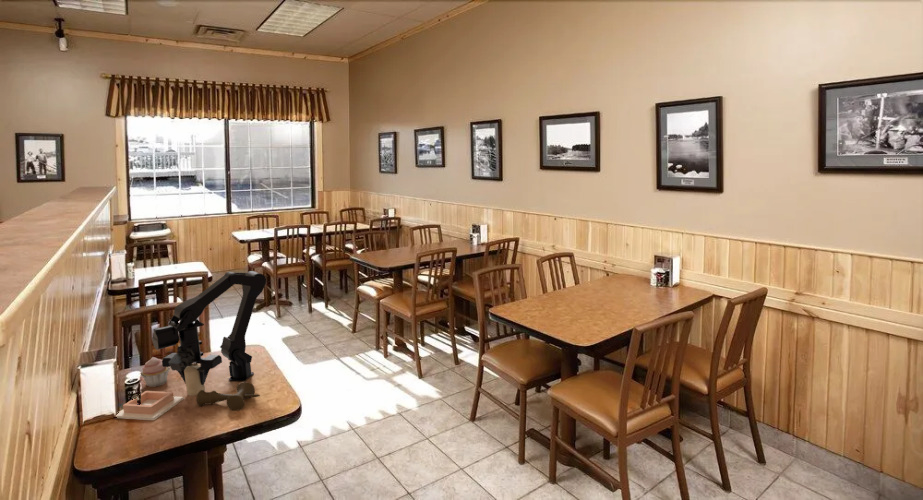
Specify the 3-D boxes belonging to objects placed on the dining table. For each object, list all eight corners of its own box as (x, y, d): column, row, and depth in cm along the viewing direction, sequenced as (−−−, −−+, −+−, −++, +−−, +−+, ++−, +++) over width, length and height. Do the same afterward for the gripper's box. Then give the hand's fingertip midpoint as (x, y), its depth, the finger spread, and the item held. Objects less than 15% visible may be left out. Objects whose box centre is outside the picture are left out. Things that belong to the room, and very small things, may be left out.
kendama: (207, 399, 178) (266, 396, 177) (193, 414, 168) (255, 411, 168) (204, 382, 176) (264, 380, 176) (190, 397, 167) (253, 394, 167)
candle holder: (183, 399, 177) (182, 389, 176) (153, 420, 163) (152, 410, 163) (146, 396, 179) (144, 387, 178) (113, 417, 165) (112, 408, 165)
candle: (197, 396, 178) (194, 368, 176) (183, 395, 179) (179, 367, 177) (208, 389, 184) (205, 362, 182) (194, 388, 185) (191, 361, 183)
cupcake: (161, 375, 196) (158, 350, 194) (177, 380, 191) (173, 354, 189) (136, 385, 188) (132, 359, 186) (151, 391, 183) (147, 364, 181)
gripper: (147, 348, 171) (153, 393, 175) (199, 351, 169) (205, 396, 172) (170, 336, 182) (176, 378, 185) (220, 338, 179) (225, 381, 182)
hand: (195, 384), depth 181 cm, fingers closed on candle, 5 cm apart
